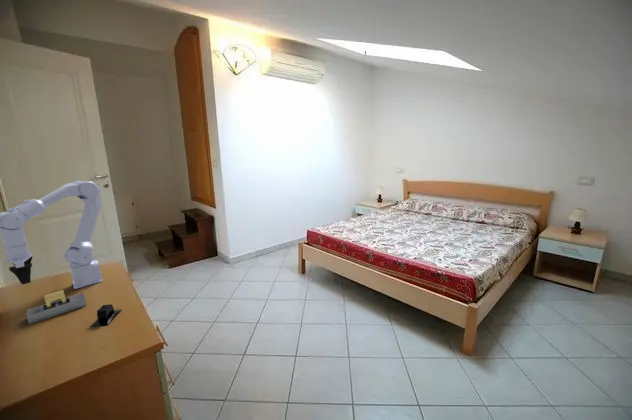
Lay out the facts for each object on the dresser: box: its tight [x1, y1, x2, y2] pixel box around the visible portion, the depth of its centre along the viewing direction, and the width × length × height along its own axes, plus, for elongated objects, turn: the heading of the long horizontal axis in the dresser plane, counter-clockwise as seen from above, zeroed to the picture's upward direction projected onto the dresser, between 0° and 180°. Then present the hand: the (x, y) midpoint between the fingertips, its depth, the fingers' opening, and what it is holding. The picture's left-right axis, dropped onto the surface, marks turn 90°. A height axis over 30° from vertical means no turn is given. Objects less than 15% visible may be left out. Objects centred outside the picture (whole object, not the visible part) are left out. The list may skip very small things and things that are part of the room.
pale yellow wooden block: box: [43, 289, 67, 309], centre depth 99 cm, size 5×2×6 cm, turn 134°
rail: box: [26, 292, 87, 325], centre depth 100 cm, size 15×5×3 cm, turn 134°
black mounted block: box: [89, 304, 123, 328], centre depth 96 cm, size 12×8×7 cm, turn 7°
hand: (26, 279), depth 103 cm, fingers open, 7 cm apart
